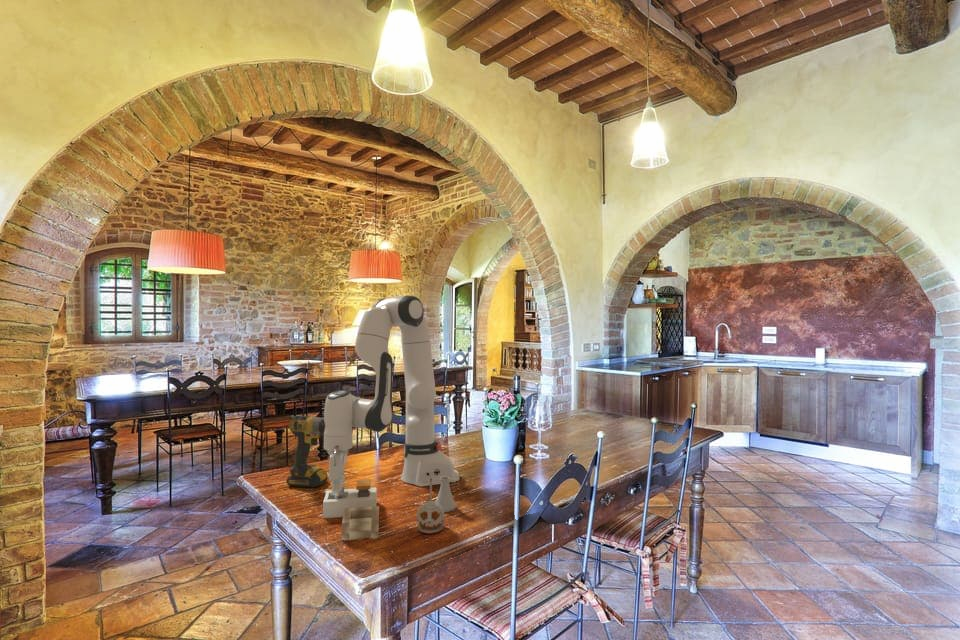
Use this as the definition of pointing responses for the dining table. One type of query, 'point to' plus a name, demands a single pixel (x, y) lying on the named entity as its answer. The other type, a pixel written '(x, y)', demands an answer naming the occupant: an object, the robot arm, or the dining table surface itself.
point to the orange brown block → (363, 487)
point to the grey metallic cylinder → (341, 492)
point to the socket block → (347, 502)
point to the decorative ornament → (430, 515)
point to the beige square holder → (360, 523)
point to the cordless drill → (306, 451)
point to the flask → (445, 496)
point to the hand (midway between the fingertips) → (337, 485)
